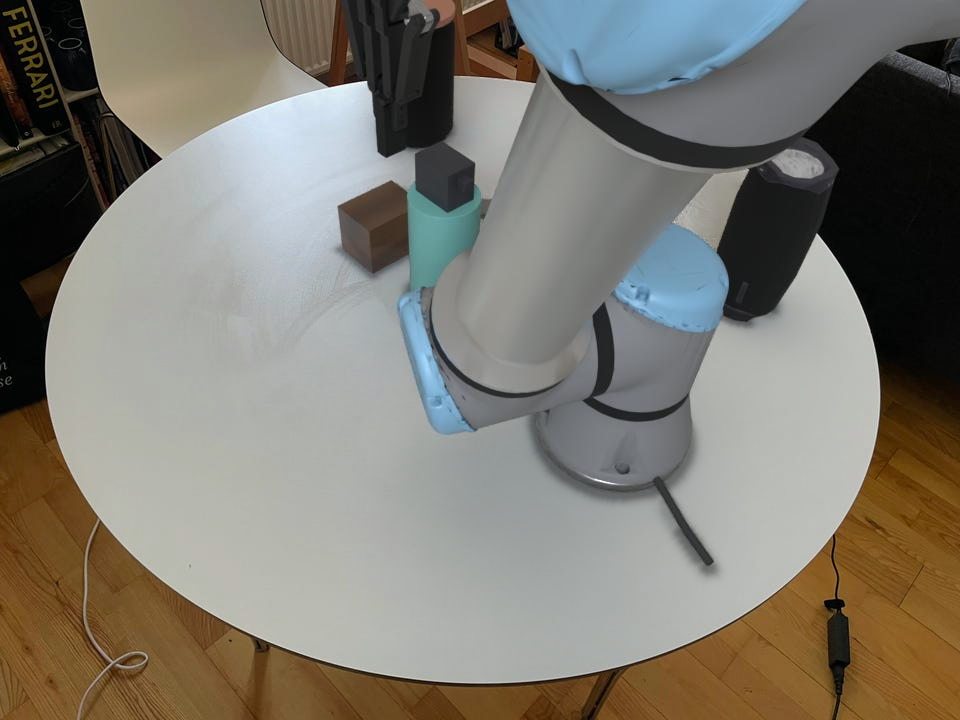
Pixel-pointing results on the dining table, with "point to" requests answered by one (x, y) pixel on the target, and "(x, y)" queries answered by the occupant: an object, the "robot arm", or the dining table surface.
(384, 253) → the block
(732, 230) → the portable speaker
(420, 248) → the spray bottle
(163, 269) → the dining table surface
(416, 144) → the coffee jar
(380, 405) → the dining table surface
